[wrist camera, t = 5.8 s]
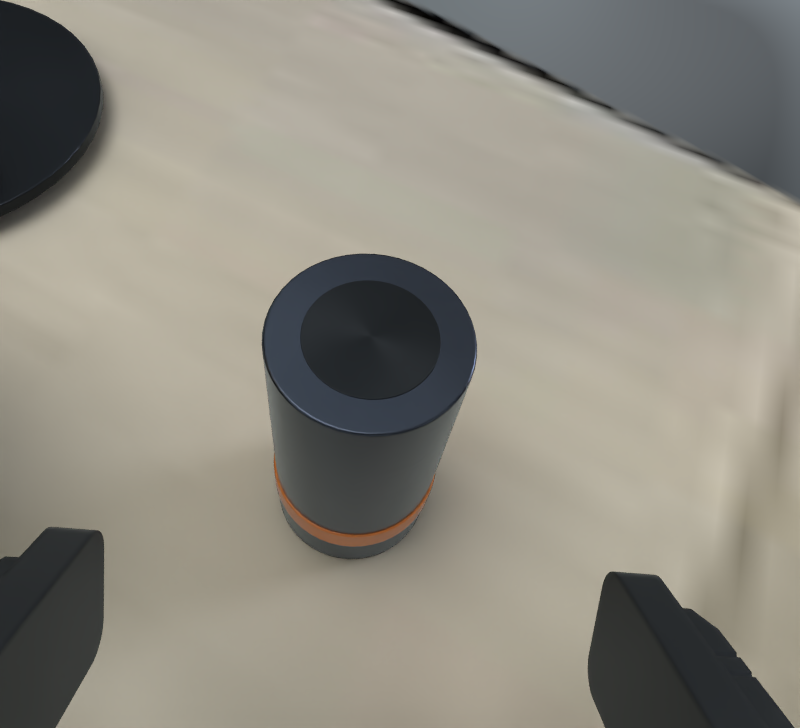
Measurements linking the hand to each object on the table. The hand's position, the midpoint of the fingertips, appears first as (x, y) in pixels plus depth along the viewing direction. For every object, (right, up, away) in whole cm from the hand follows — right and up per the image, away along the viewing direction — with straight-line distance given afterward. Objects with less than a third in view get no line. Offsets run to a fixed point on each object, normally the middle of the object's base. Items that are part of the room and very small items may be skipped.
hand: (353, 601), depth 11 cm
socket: (-1, 0, +12) cm, 12 cm away
